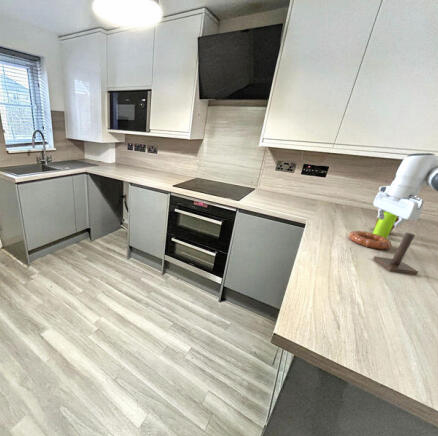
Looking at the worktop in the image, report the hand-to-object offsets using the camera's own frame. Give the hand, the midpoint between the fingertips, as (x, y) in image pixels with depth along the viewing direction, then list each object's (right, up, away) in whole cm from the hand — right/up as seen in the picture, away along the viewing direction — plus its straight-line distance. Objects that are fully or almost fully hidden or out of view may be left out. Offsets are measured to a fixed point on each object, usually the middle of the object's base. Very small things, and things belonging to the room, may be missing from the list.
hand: (387, 222), depth 104 cm
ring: (+1, -8, +9) cm, 12 cm away
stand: (-9, -17, -11) cm, 22 cm away
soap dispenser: (+14, -8, +19) cm, 25 cm away
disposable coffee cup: (+23, -6, +26) cm, 35 cm away
